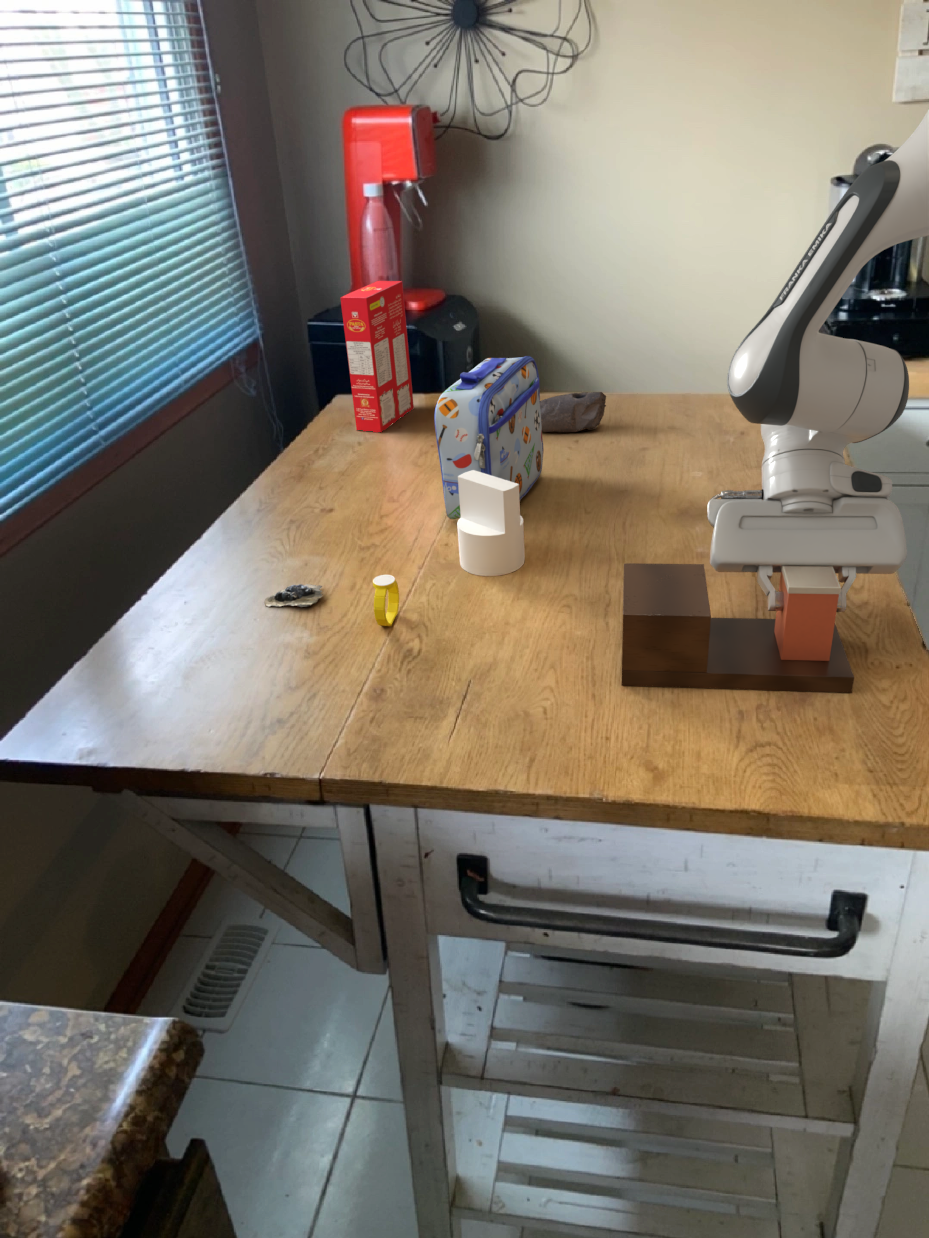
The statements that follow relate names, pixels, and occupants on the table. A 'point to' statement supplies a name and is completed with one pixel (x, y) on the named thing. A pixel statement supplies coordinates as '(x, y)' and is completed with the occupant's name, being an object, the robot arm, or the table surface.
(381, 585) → the watch
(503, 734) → the table surface
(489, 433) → the lunch box
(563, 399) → the perforated stone tool
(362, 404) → the food packaging
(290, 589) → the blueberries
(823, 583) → the tapered rectangular bin
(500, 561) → the cylinder with rectangular tab
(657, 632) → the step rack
